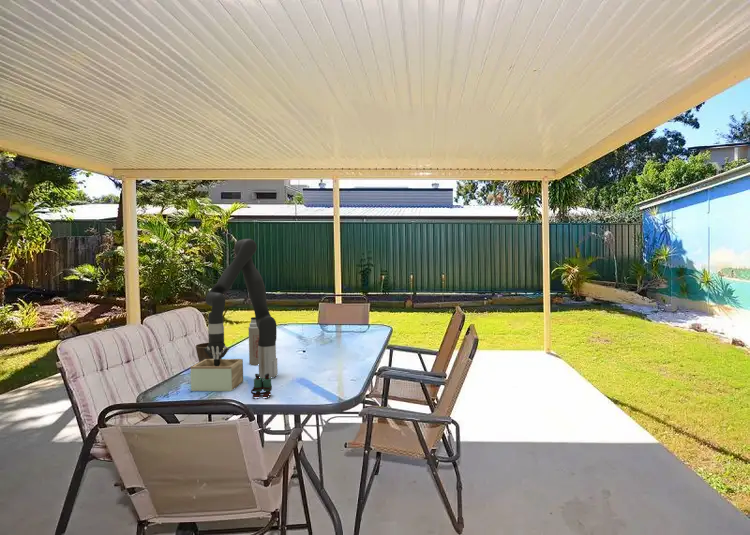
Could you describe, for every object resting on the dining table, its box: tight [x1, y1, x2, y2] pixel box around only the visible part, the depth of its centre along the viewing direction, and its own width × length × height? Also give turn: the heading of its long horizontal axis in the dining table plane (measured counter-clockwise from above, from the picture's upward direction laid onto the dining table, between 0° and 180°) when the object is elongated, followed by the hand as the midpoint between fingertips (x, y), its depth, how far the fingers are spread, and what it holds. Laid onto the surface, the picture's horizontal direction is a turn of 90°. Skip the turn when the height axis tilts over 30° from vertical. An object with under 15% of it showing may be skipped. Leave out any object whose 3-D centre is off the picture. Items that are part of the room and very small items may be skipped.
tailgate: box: [190, 365, 233, 392], centre depth 246 cm, size 20×1×12 cm, turn 85°
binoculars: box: [250, 373, 273, 398], centre depth 234 cm, size 9×11×10 cm
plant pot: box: [195, 342, 224, 363], centre depth 281 cm, size 15×15×16 cm
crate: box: [193, 358, 244, 391], centre depth 255 cm, size 20×16×12 cm
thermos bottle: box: [248, 316, 259, 366], centre depth 302 cm, size 8×8×28 cm
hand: (217, 366), depth 253 cm, fingers closed
